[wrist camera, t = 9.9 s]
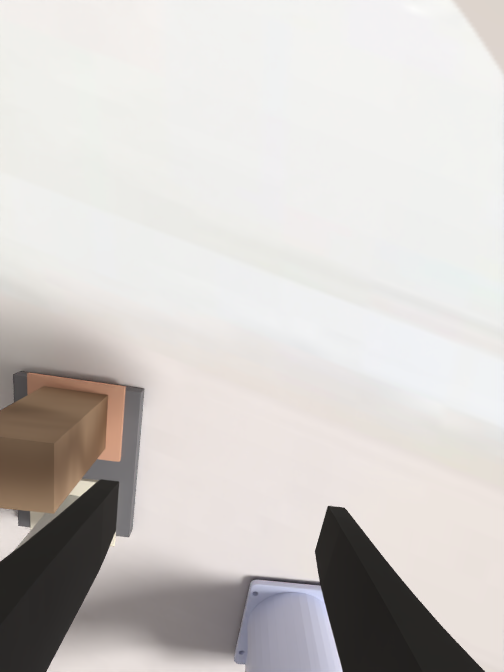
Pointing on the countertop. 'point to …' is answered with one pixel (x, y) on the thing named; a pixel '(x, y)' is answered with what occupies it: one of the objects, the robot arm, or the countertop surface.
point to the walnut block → (49, 446)
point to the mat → (120, 442)
